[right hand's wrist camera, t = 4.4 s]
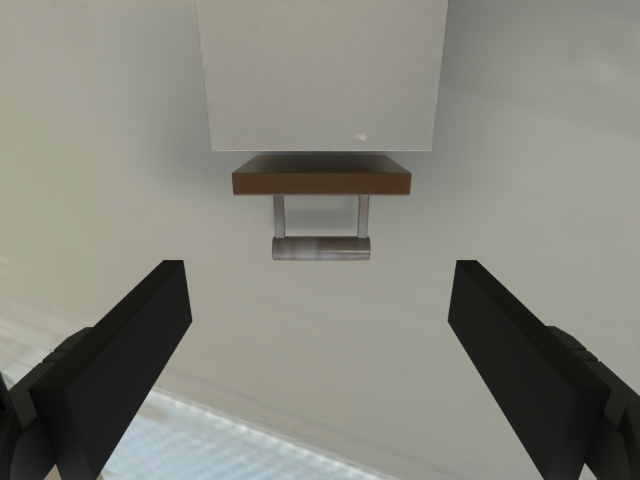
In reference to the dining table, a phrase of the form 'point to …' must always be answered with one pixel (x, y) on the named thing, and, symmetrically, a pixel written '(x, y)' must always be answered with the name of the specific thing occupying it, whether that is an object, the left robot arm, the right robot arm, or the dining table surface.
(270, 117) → the cabinet
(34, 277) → the dining table surface
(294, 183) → the drawer
